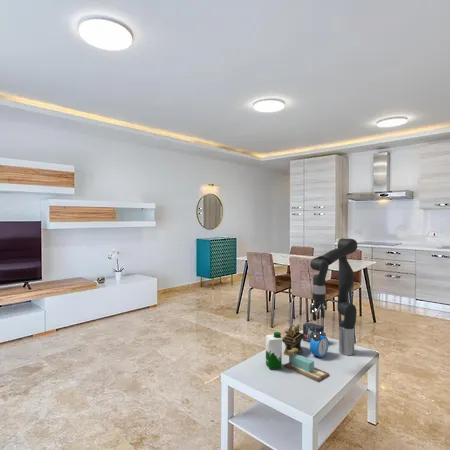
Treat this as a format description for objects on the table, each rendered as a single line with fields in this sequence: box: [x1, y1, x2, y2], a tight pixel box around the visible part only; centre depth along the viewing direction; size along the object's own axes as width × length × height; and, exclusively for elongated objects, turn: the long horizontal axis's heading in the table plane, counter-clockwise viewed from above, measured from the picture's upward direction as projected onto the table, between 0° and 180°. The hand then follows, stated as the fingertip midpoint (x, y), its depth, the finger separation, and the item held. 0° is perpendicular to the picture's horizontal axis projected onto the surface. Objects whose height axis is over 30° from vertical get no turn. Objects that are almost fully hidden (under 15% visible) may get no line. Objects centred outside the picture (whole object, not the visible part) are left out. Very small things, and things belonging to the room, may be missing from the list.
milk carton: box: [265, 331, 283, 371], centre depth 188 cm, size 9×9×20 cm
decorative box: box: [281, 322, 305, 356], centre depth 208 cm, size 20×10×20 cm, turn 143°
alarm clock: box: [309, 331, 330, 359], centre depth 204 cm, size 13×6×15 cm, turn 131°
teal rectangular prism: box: [292, 354, 315, 372], centre depth 185 cm, size 5×12×5 cm, turn 40°
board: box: [283, 348, 330, 383], centre depth 183 cm, size 11×23×9 cm, turn 40°
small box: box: [302, 321, 325, 343], centre depth 227 cm, size 13×7×12 cm, turn 50°
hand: (318, 319), depth 190 cm, fingers open, 8 cm apart
